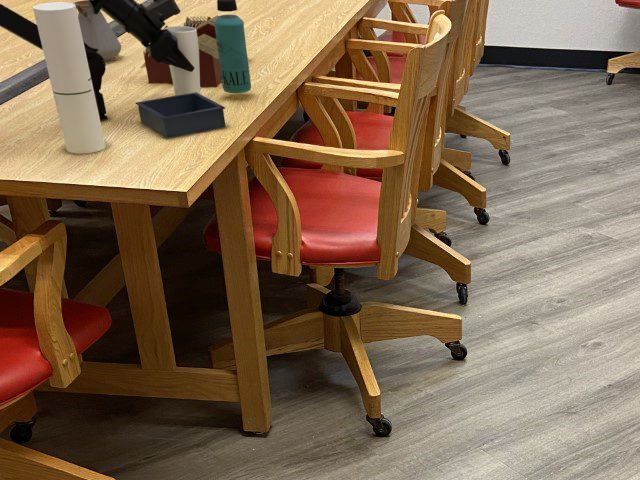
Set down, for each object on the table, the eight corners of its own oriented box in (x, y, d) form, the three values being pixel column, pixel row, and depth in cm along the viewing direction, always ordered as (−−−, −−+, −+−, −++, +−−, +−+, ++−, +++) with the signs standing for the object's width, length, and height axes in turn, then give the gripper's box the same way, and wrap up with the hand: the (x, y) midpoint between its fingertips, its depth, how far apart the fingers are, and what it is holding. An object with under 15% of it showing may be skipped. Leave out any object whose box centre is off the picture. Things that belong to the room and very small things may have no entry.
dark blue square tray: (166, 139, 192) (162, 118, 189) (139, 122, 200) (135, 102, 198) (227, 127, 199) (225, 107, 196) (199, 111, 207) (196, 92, 204)
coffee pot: (78, 54, 244) (63, -12, 235) (125, 52, 246) (113, -13, 237) (67, 76, 227) (51, 6, 218) (117, 74, 229) (104, 5, 220)
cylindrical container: (109, 141, 190) (80, 2, 175) (99, 153, 184) (68, 10, 169) (73, 141, 190) (40, 1, 175) (61, 153, 184) (27, 10, 169)
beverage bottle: (240, 90, 220) (227, -6, 208) (259, 96, 217) (248, -2, 205) (217, 96, 216) (203, -2, 204) (236, 102, 213) (223, 3, 201)
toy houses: (228, 87, 222) (222, 39, 216) (138, 86, 222) (130, 38, 216) (259, 41, 258) (254, -1, 252) (181, 40, 258) (175, -2, 252)
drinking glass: (201, 98, 215) (193, 25, 206) (207, 106, 210) (199, 31, 201) (170, 100, 212) (160, 26, 204) (176, 108, 207) (166, 32, 199)
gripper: (158, -12, 189) (222, 45, 199) (144, -27, 202) (205, 26, 213) (124, 34, 191) (189, 88, 201) (112, 16, 204) (174, 67, 215)
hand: (190, 66), depth 207 cm, fingers closed on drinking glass, 6 cm apart
